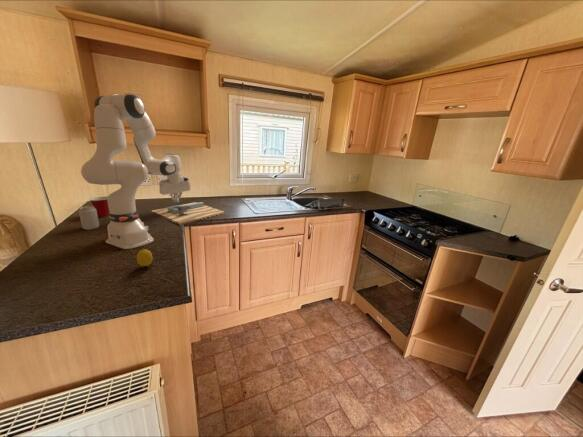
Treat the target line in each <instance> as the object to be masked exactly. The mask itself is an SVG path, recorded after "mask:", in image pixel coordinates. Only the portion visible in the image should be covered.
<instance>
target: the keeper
mask: <svg viewBox="0 0 583 437" xmlns="http://www.w3.org/2000/svg"><path fill="white" fill-rule="evenodd" d="M187 209H190V206H182V207H178V210H179V215H184V212H183V210H187Z"/></svg>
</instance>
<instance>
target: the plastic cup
mask: <svg viewBox="0 0 583 437" xmlns="http://www.w3.org/2000/svg"><path fill="white" fill-rule="evenodd" d="M108 196H109V195H108ZM108 196H105V195H104V196H97V197H91V198H89V199H88V200H89V201H90V203H91V204H92V206H94V208H95V209H96V211H97V216H98V218H107V217H108V218H109V206H108V201H107V198H108Z"/></svg>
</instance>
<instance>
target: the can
mask: <svg viewBox="0 0 583 437" xmlns="http://www.w3.org/2000/svg"><path fill="white" fill-rule="evenodd" d="M78 214H79V216H78V217H79V221H80V223H81V224H80V225H81V228H82V229H83V230H87V231H90V230H96V229H98V228H99V227H100V221H99V217H98V215H97V211H96V209H95V208H94V206H93V205H86V206H81V207H79V210H78Z"/></svg>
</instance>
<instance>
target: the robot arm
mask: <svg viewBox="0 0 583 437" xmlns="http://www.w3.org/2000/svg"><path fill="white" fill-rule="evenodd" d="M93 105H94V114H93V115H94V116H93V121H94V129H95V130H94V131H95V137H96V148H95V149H96V150H95V152H94V154H93V156H92V157H91V158H90V159H88V160H87V161H86V162H85V163H83V165H82V166H81V169H80V171H81V173H80V174H81V176H82V178H83V179H84V181H86V182H87V183H88V184H92V185H100V186H102V185H103V186H107V185H108V186H109V185H120V186H121V187H120V188H119V189H117V190H115V191H113V192H111V193H109V194H108V198H107V201H108V206H109V216H108V218H109V223H108V224H107V227H106V228H107V236H108V238H107V239H105V243H106V244H108V245H111V246H115V247H117V248H120V249H123V250H128V249H135V248H138V247H139V248H140V247H142V246H146V245H148V244H151V243H152V242H154V241H155V239H154V237H152V235H151V234H150V233H149V232H148V231H149V226H148V225H145V223H144V221H142V220H141V218H140V216H139V212H138V209H137V207H136V206H137V205H136V194H137V191H138V189H139V187H140V186H141V185H142V184H143V183H145V182H146V181H147V179H148V178H149V175H157V176H164V177H165V176H166V179H161V180H160V181H159V183H158V184H159V194H161V195H162V196H163V195H169V196H170V197H171V200H172V201H174V200H175V197H174V195H173V193H178V196H179V200H180V199H182V194H183V193H185V192H190V191H191V184H190V178H189V177H187V176H183V175H182V163H181V157H180V156H179V155H178V154H175V153H165V155H164V157H162V158H161V159H157V158H154V156H152V154H151V152H150V149H149V147H148V143H151V142H152V141H154V139H155V137H156V129H155V127H154V124H153V122H152V120H151V118H150V117H149V115H148V114H147V111H146V106H145V104H144V102H143V100H142V99H141V98H140V97H139V96H137V95H135V94H130V93H128V94H117V93H116V94H114V93H113V94H109V95H101V96H98V97H96V98H95V99H94V104H93ZM123 120H126V121H127V124H128V127H129V128H130V130H131V133H132V134H133V143H134V145H135V148H136V151H137V152H138V156H139V158H140V161H141V162H139V161H134V160H113V159H114V156H115V155H117V154H120V153H123V152H124V151H125V150H126V149H127V147H128V145H127V139H126V130H125V126H124V122H123Z"/></svg>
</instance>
